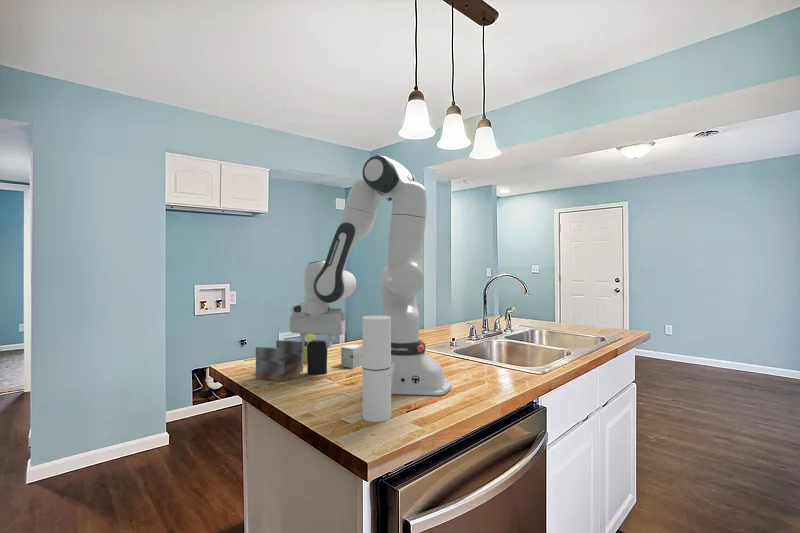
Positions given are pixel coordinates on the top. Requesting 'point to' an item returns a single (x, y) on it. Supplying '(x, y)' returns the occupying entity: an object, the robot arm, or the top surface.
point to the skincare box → (351, 356)
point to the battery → (317, 357)
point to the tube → (309, 338)
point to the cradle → (279, 361)
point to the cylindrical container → (376, 367)
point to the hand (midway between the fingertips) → (317, 346)
